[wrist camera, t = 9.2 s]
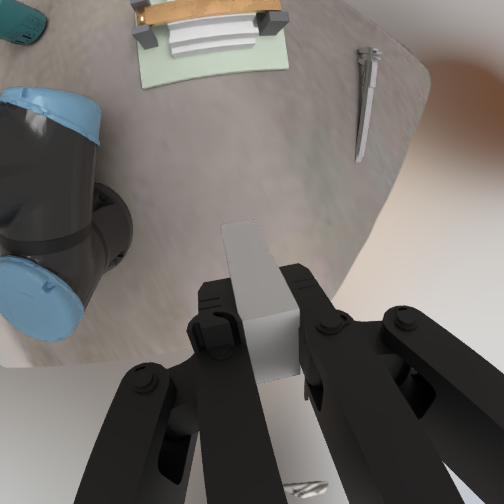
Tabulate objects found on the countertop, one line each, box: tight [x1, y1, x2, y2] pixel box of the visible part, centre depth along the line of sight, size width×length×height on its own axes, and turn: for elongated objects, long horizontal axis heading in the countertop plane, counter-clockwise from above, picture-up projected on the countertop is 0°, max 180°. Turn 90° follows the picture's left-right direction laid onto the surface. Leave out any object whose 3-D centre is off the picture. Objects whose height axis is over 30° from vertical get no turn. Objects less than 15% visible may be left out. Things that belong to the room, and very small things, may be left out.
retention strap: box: [136, 0, 281, 27], centre depth 24 cm, size 18×3×4 cm, turn 97°
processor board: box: [130, 0, 289, 90], centre depth 26 cm, size 21×18×10 cm
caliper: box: [355, 47, 382, 163], centre depth 36 cm, size 20×1×6 cm, turn 0°
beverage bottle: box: [0, 0, 46, 45], centre depth 14 cm, size 6×7×20 cm
